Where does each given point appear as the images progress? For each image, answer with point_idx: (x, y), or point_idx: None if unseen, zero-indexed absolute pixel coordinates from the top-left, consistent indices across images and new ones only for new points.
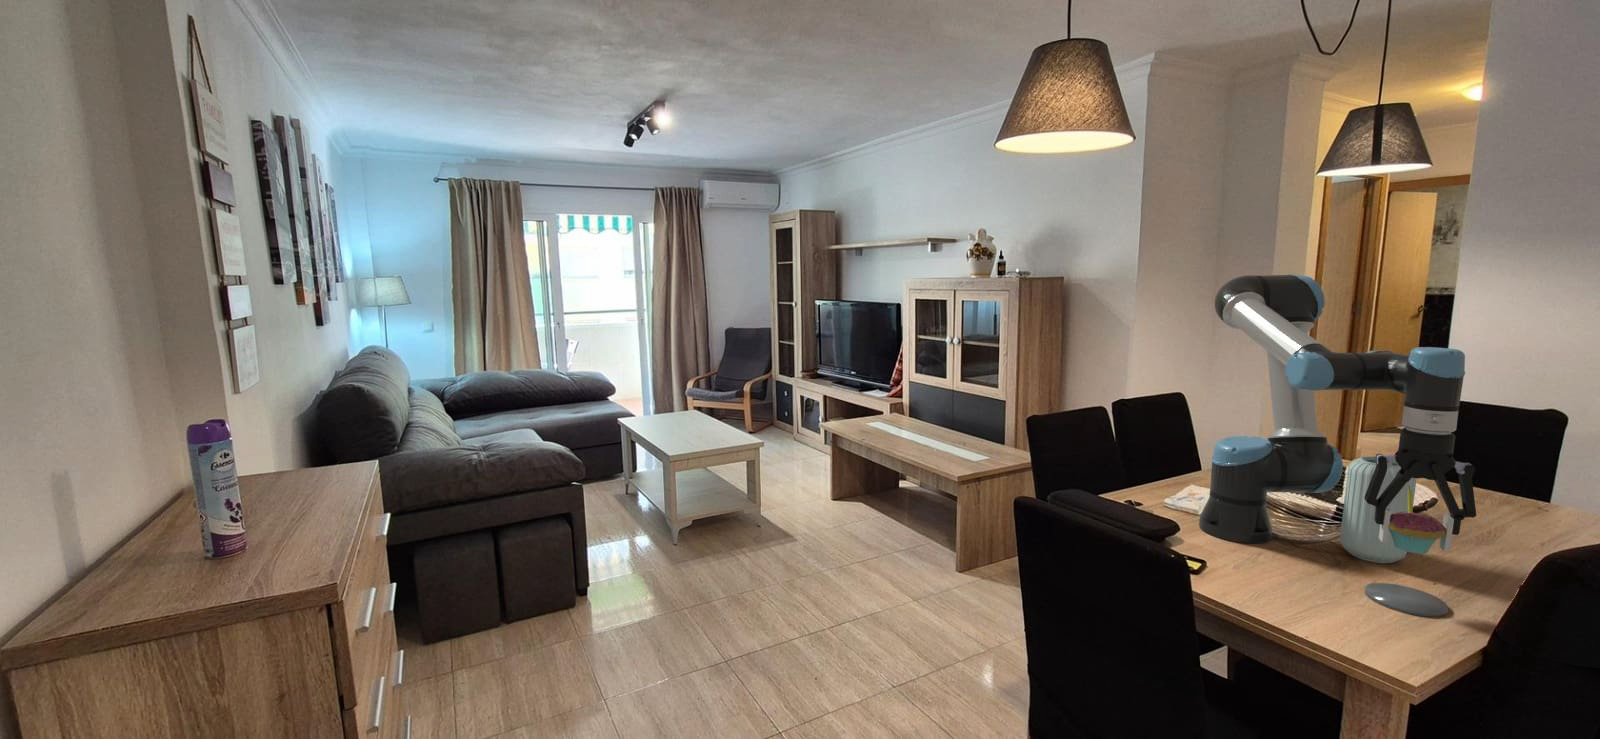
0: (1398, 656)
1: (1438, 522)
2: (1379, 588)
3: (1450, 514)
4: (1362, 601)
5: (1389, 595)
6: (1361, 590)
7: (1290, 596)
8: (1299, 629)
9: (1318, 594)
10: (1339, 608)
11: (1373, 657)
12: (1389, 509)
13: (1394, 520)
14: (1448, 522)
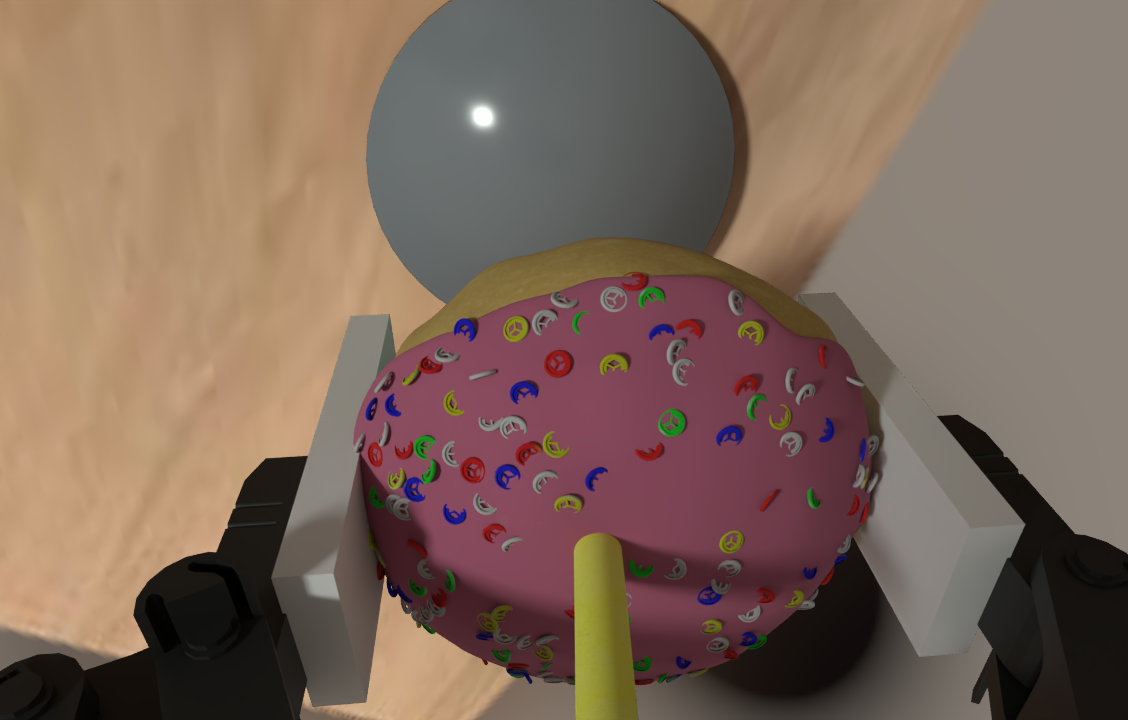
0: (444, 645)
1: (827, 563)
2: (439, 111)
3: (1015, 587)
4: (356, 286)
5: (478, 197)
6: (353, 129)
7: (58, 403)
8: None
9: (162, 312)
10: (267, 417)
11: (378, 680)
12: (352, 658)
13: (419, 616)
14: (901, 614)
